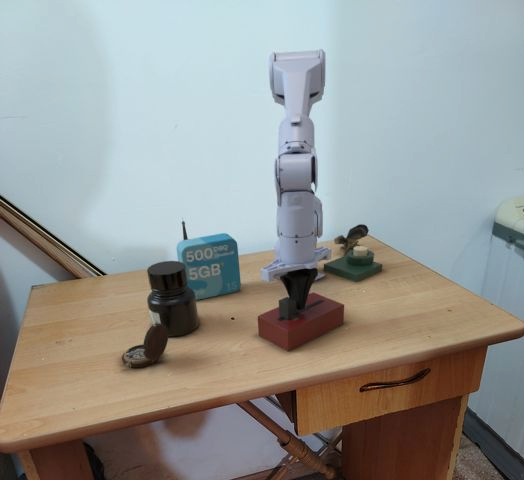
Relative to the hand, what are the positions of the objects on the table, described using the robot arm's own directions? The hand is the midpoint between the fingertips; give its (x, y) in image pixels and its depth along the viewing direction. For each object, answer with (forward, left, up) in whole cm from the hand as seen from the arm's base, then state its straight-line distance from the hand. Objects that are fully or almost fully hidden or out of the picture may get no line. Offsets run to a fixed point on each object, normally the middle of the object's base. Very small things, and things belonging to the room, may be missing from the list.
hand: (298, 307), depth 84 cm
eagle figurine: (-21, +39, -5) cm, 44 cm away
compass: (-11, -26, -5) cm, 29 cm away
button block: (-12, +29, -5) cm, 31 cm away
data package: (-26, -1, -5) cm, 27 cm away
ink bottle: (-18, -15, -5) cm, 24 cm away
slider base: (0, +1, -5) cm, 5 cm away
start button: (-12, +31, -2) cm, 33 cm away
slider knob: (0, -3, -1) cm, 3 cm away
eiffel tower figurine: (-40, +2, -5) cm, 40 cm away
